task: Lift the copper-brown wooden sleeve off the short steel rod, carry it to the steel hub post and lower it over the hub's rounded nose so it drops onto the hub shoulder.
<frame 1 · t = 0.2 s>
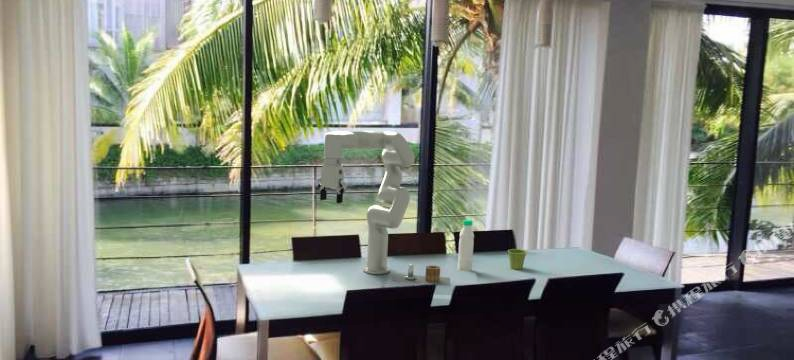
hand: (331, 201, 287), 37 cm above the table, tool pointing down, fingers open, 9 cm apart
post board: (421, 282, 301), on the table
water bottle: (464, 270, 325), on the table
steel posts: (420, 272, 301), on the post board, point 5 cm above the table
sleeve: (432, 280, 301), point 1 cm above the table, touching post board
plant pot: (516, 268, 334), on the table
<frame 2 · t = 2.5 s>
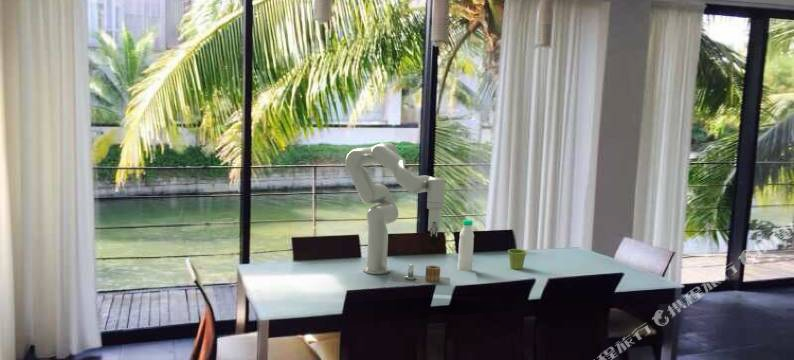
hand: (433, 243, 298), 19 cm above the table, tool pointing down, fingers open, 9 cm apart
nothing on the table moved.
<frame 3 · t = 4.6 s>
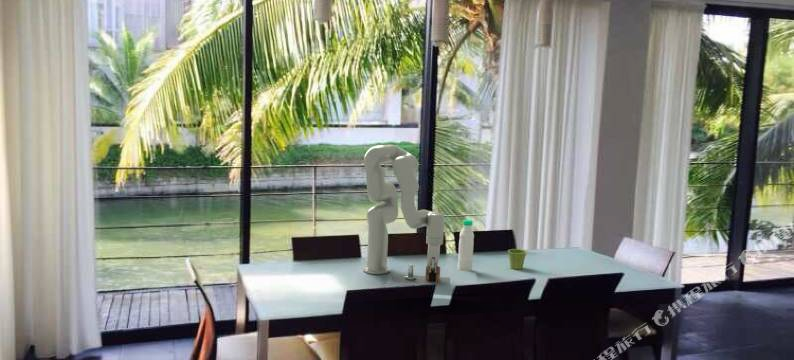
hand: (432, 278, 301), 2 cm above the table, tool pointing down, fingers closed on sleeve, 6 cm apart
sleeve: (432, 280, 301), point 2 cm above the table, touching gripper, post board
everything else where it was.
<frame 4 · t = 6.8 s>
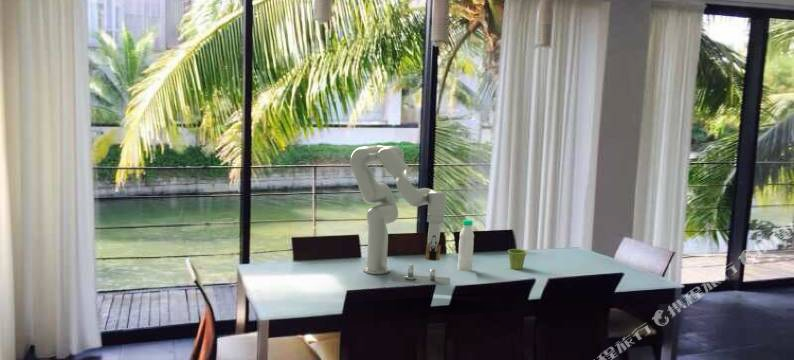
hand: (432, 257, 299), 12 cm above the table, tool pointing down, fingers closed on sleeve, 6 cm apart
sleeve: (432, 258, 300), point 11 cm above the table, touching gripper
everything else where it was.
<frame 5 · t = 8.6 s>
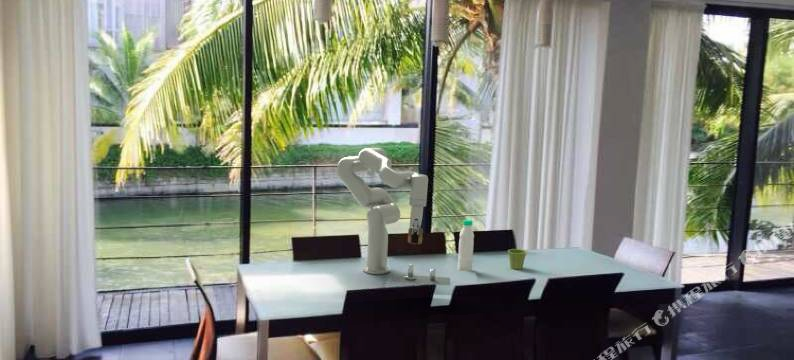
hand: (414, 240, 299), 19 cm above the table, tool pointing down, fingers closed on sleeve, 6 cm apart
sleeve: (414, 242, 299), point 18 cm above the table, touching gripper
everything else where it was.
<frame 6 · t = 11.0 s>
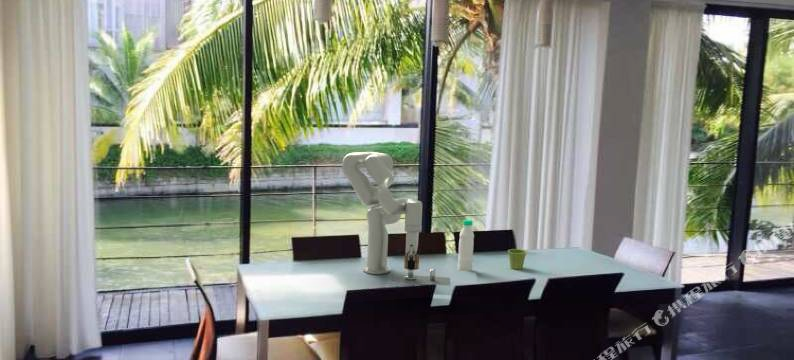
hand: (411, 266, 300), 7 cm above the table, tool pointing down, fingers closed on sleeve, 6 cm apart
sleeve: (411, 268, 300), point 7 cm above the table, touching gripper
everything else where it was.
when the fingers open (5 cm above the table, at t = 12.8 s): sleeve drops 1 cm, resting on steel posts.
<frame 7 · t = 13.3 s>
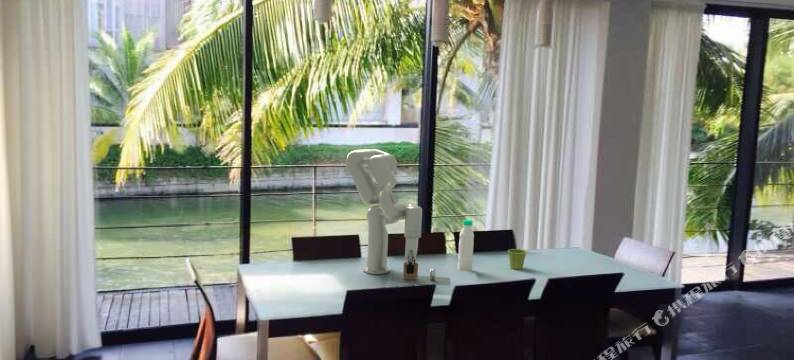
hand: (410, 270, 301), 5 cm above the table, tool pointing down, fingers open, 9 cm apart
sleeve: (410, 276, 301), point 2 cm above the table, touching steel posts
everything else where it was.
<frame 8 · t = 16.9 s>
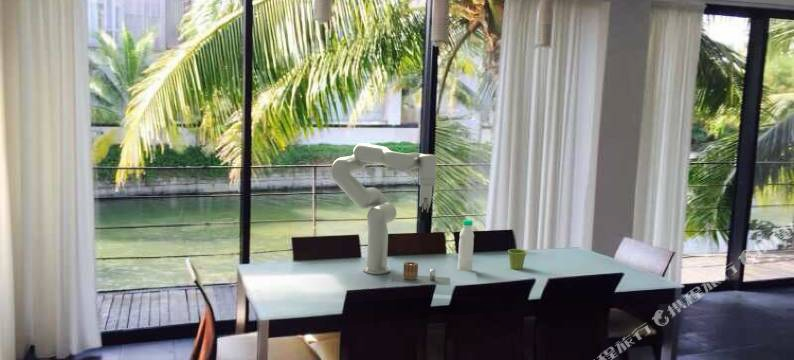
hand: (425, 218, 303), 28 cm above the table, tool pointing down, fingers open, 9 cm apart
nothing on the table moved.
at the end: sleeve 0.0 cm from the target spot on the post board, point 2.5 cm above the post board's base; sleeve tilted 0°; the gripper is holding nothing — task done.
